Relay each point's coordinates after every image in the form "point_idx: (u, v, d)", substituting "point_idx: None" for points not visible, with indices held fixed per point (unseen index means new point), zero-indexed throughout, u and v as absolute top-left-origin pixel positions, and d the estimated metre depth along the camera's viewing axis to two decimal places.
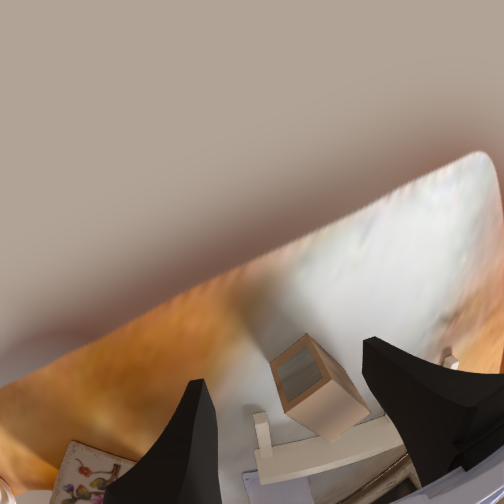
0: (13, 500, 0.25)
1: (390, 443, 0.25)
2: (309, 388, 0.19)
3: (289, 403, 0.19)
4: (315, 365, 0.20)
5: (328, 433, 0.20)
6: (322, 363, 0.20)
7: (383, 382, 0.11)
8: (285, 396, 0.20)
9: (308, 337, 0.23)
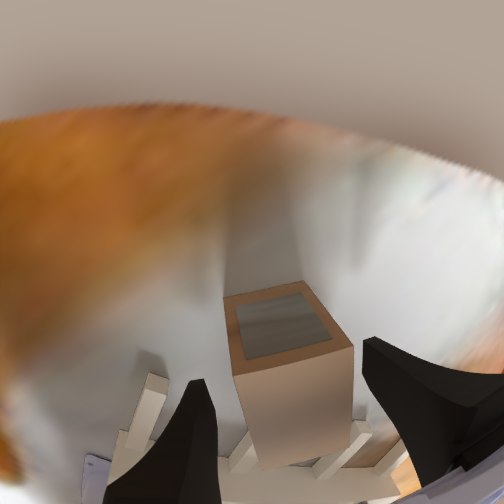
0: None
1: None
2: (298, 349, 0.10)
3: (249, 362, 0.10)
4: (316, 319, 0.11)
5: (272, 455, 0.11)
6: (332, 320, 0.11)
7: (383, 382, 0.11)
8: (243, 349, 0.10)
9: (305, 285, 0.14)
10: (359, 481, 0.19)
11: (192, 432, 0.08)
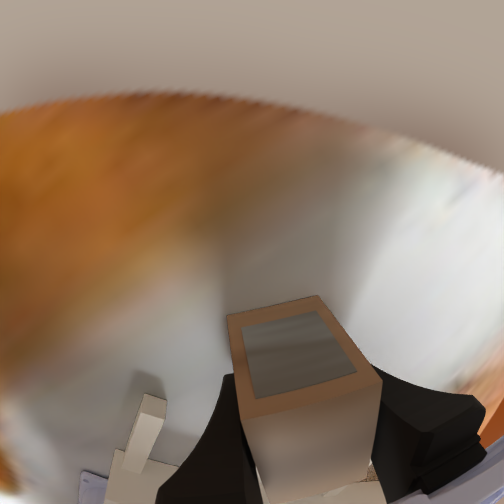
0: None
1: None
2: (317, 385, 0.08)
3: (259, 401, 0.08)
4: (337, 347, 0.09)
5: (283, 491, 0.09)
6: (354, 347, 0.09)
7: None
8: (252, 384, 0.08)
9: (320, 301, 0.13)
10: (367, 496, 0.18)
11: (239, 425, 0.08)
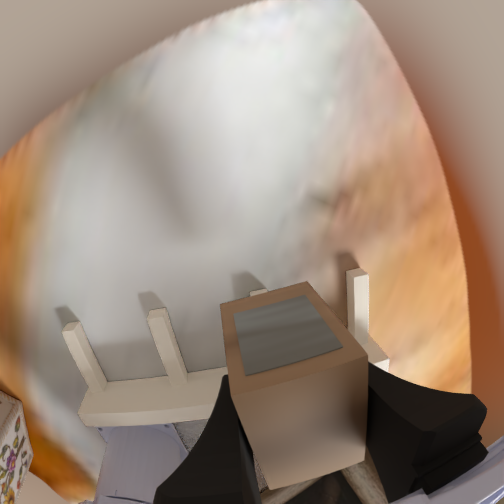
0: None
1: None
2: (305, 362, 0.09)
3: (249, 378, 0.08)
4: (324, 325, 0.10)
5: (280, 474, 0.09)
6: (341, 325, 0.10)
7: None
8: (242, 363, 0.09)
9: (309, 286, 0.13)
10: None
11: (237, 425, 0.08)
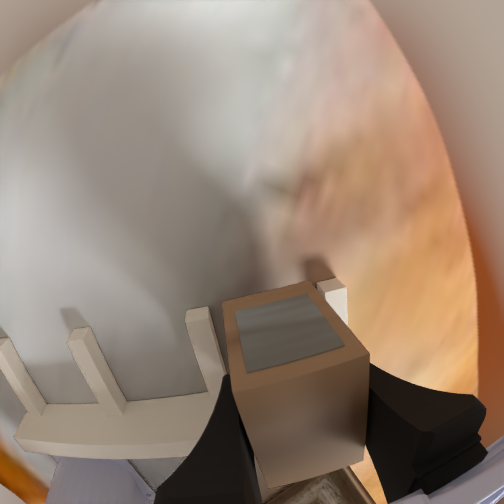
0: None
1: (196, 441, 0.14)
2: (306, 359, 0.09)
3: (250, 375, 0.08)
4: (326, 324, 0.10)
5: (279, 472, 0.09)
6: (343, 324, 0.10)
7: None
8: (244, 360, 0.09)
9: (311, 286, 0.13)
10: None
11: (238, 425, 0.08)
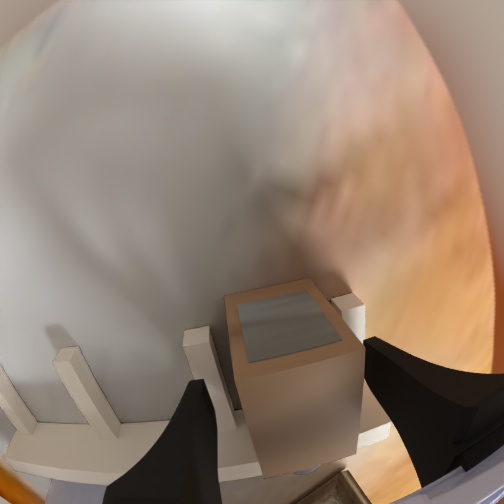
0: None
1: None
2: (305, 352, 0.09)
3: (252, 365, 0.09)
4: (324, 319, 0.10)
5: (275, 462, 0.10)
6: (340, 320, 0.10)
7: (383, 382, 0.11)
8: (246, 351, 0.10)
9: (311, 282, 0.14)
10: None
11: (192, 432, 0.08)
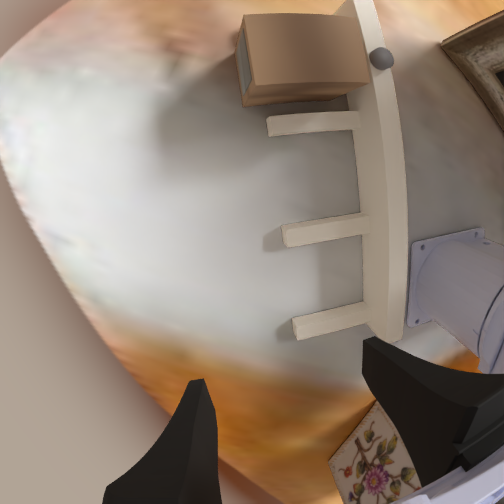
0: None
1: (385, 142, 0.16)
2: (248, 48, 0.13)
3: (252, 77, 0.13)
4: (240, 39, 0.14)
5: (348, 70, 0.13)
6: (240, 30, 0.13)
7: (383, 382, 0.11)
8: (249, 82, 0.14)
9: (235, 51, 0.17)
10: None
11: (192, 432, 0.08)
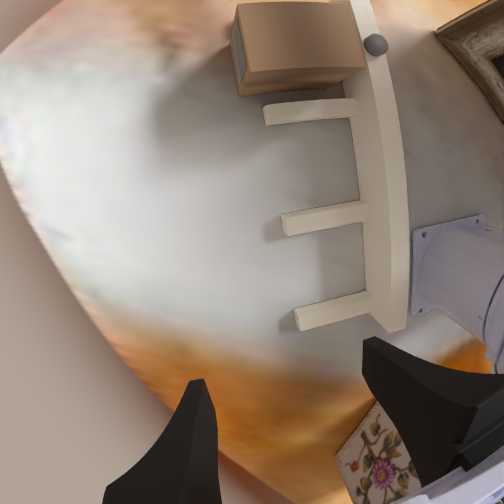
0: None
1: (382, 127, 0.16)
2: (242, 36, 0.12)
3: (247, 64, 0.13)
4: (234, 29, 0.13)
5: (343, 56, 0.13)
6: (234, 20, 0.13)
7: (383, 382, 0.11)
8: (245, 70, 0.14)
9: (230, 42, 0.16)
10: None
11: (192, 432, 0.08)
